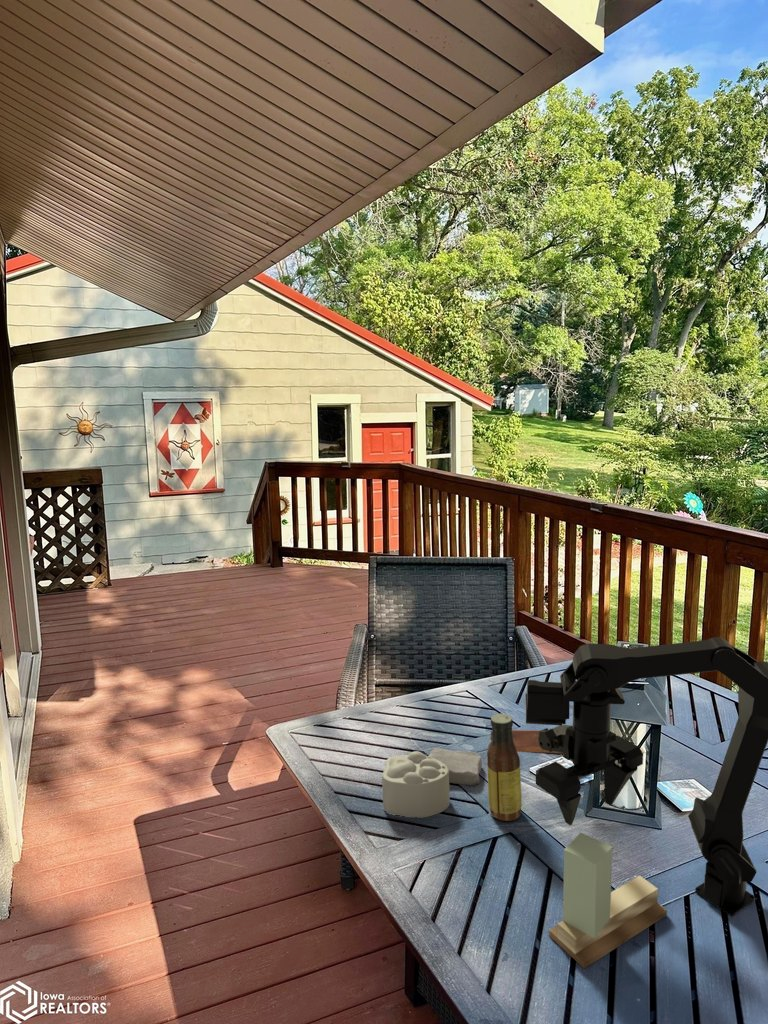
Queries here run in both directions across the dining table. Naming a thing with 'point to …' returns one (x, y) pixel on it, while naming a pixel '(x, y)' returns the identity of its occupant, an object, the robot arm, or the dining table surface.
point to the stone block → (460, 765)
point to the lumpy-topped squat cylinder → (415, 785)
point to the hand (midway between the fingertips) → (589, 813)
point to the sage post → (587, 884)
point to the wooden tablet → (527, 741)
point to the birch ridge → (613, 923)
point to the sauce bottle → (503, 771)
